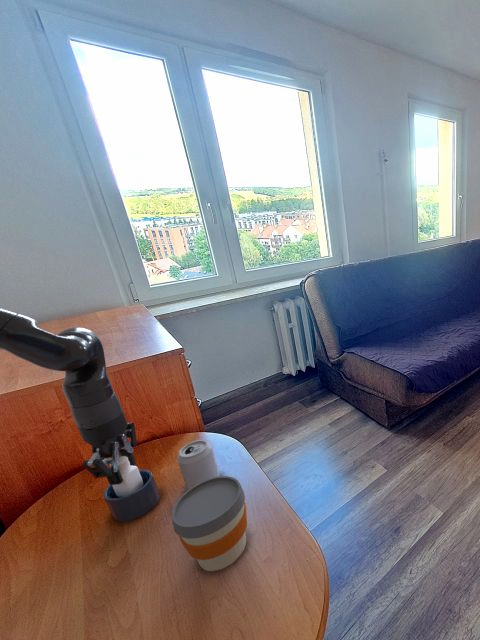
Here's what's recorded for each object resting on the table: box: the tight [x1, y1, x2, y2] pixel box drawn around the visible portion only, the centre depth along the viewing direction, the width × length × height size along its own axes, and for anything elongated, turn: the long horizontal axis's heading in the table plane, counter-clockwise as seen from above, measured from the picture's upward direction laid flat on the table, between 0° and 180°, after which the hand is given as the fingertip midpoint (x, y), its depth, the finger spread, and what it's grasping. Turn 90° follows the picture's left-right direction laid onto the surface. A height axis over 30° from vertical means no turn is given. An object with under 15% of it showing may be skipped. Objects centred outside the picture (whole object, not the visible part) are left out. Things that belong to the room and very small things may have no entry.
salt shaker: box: [109, 455, 144, 497], centre depth 80 cm, size 4×4×10 cm
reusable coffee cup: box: [171, 475, 248, 572], centre depth 70 cm, size 13×12×15 cm
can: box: [176, 439, 220, 491], centre depth 87 cm, size 8×8×12 cm
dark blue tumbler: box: [103, 469, 161, 523], centre depth 82 cm, size 9×9×7 cm
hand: (124, 474), depth 79 cm, fingers closed on salt shaker, 4 cm apart
